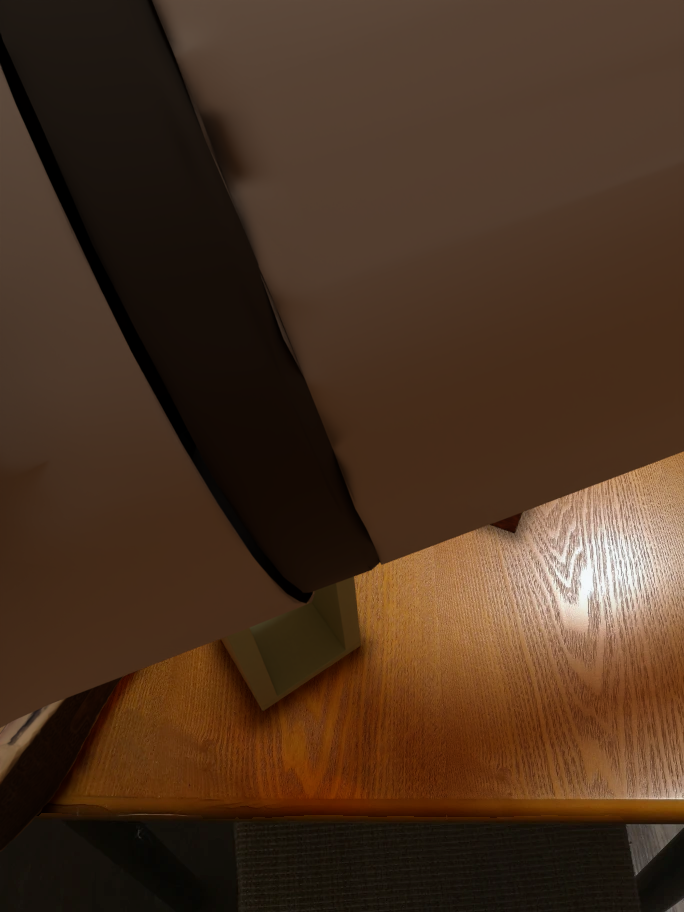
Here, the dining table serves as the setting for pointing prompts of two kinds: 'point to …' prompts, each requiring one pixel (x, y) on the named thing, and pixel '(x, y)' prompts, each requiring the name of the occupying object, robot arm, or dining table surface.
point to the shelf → (297, 643)
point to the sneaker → (43, 755)
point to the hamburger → (508, 523)
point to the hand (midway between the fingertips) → (227, 392)
